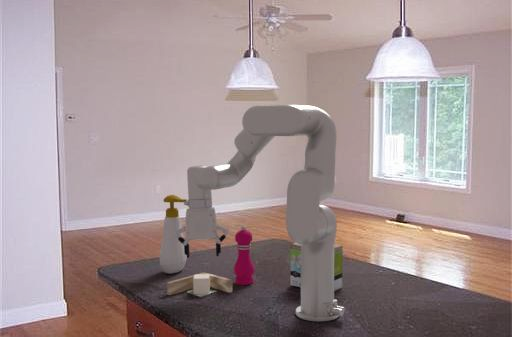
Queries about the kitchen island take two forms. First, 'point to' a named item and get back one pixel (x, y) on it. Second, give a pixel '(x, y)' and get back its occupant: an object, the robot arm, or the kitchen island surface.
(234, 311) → the kitchen island surface
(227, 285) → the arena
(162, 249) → the soap bottle
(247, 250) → the pepper mill
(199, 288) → the cube
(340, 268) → the tea box
